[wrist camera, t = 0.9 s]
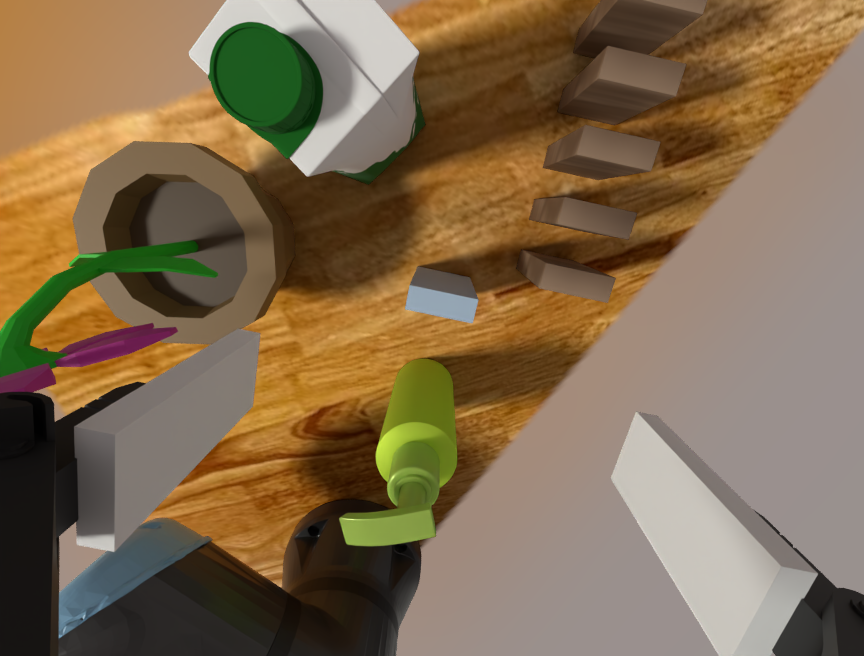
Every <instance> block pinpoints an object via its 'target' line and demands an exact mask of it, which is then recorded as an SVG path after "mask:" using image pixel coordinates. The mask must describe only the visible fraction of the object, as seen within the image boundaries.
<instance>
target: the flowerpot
mask: <svg viewBox="0 0 864 656" xmlns="http://www.w3.org/2000/svg"><path fill="white" fill-rule="evenodd" d="M73 223H74V228H75V234H76V239H77V244H78V249H79V255H78V256H77V257H76V258H75V259H74V260H73V261H71V262H70V263H69V267H73V266H75V267H73V268H70V269H68V270H66V271H63V272H61V273H59V274H56V275H54V276H53V277H51V278H50V279H49V280H48V281H47V282H46V283H45V284H44V285H43V286H42V287H41V288H40V289H39V290H38V291H37V292H36V293H35V294H34V295H33V296H32V297H31V298H30V299H29V300H28V301H26V302H25V303H24V304H23V305H22V306H21V307H20V308H19V309H18V310H17V311H16V312H15V313H14V314H13V315H12V316H11V317H10V318H9V319H8V320H7V321H6V323H5V324H4V326H3V328H2V329H1V331H0V393H4V392H34V391H37V390H40V389H43V388H46V387H48V386H51V385H54V384H56V380H55V376H54V374H53V372H52V370H51V369H53V368H55V367H82V366H86V365H90V364H93V363H97V362H101V361H105V360H108V359H112V358H116V357H119V356H123V355H127V354H130V353H132V352H135V351H137V350H139V349H142V348H144V347H146V346H149V345H151V344H153V343H156V342H158V341H161V342H163V343H187V344H213V343H215V342H216V341H218V340H220V339H221V338H223V337H225V336H226V335H228V334H230V333H231V332H233V331H235V330H236V329H242V328H244V327H245V326H247V325H249V324H251V323H253V322H254V321H256V320H258V319H259V318H261V317H263V316H264V315H265V314H266V312H267V310H268V308H269V306H270V304H271V302H272V301H273V299H274V297H275V295H276V293H277V291H278V289H279V287H280V285H281V283H282V282H283V280H284V278H285V276H286V272H287V270H288V268H289V266H290V264H291V263H292V261H293V259H294V257H295V236H294V225H293V223H292V222H291V220H290V218H289V217H288V215H287V213H286V212H285V210H284V208H283V207H282V205H281V204H280V202H279V200H278V199H277V198H275V197H273V196H272V195H270V194H269V193H267V192H265V191H264V190H262V189H261V187H260V185H259V184H258V182H257V180H256V179H255V177H254V176H252V175H251V174H249V173H247V172H246V171H244V170H243V169H241V168H239V167H238V166H236V165H234V164H233V163H231V162H230V161H228V160H226V159H225V158H223V157H221V156H220V155H218V154H217V153H215V152H213V151H212V150H210V149H209V148H207V147H204V146H200V145H196V144H192V143H172V142H140V141H133V142H132V143H130V144H129V145H127V146H126V147H124V148H123V149H121V150H120V151H118V152H117V153H115V154H114V155H112V156H111V157H109V158H108V159H106V160H105V161H103V162H102V163H100V164H99V165H97V166H96V167H94V168H93V169H91V170H90V173H89V175H88V178H87V181H86V184H85V186H84V189H83V192H82V194H81V197H80V200H79V203H78V205H77V208H76V211H75V213H74V216H73ZM88 281H90V282H91V284H92V285H93V286H94V288H95V289H96V290H97V292H98V293H99V294H100V296H101V297H102V298H103V300H104V301H105V302H106V304H107V305H108V306H109V308H110V309H111V311H112V312H113V313H114V315H115V316H116V317H117V318H119V319H121V320H123V321H125V322H127V323H128V324H130V325H132V326H134V327H130V328H125V329H120V330H115V331H110V332H105V333H102V334H100V335H97V336H94V337H91V338H88V339H85V340H82V341H79V342H76V343H73V344H70V345H68V346H67V347H65V348H64V349H62V350H61V351H59V352H51V351H48V349H47V348H44V349H39V348H36V347H33V346H30V342H31V338H32V334H33V331H34V329H35V328H36V327H37V326H38V325H39V324H40V323H41V321H42V320H43V319H44V318H45V317H46V316H47V315H48V314H49V313H50V312H51V311H52V310H53V309H54V308H55V306H56V305H57V304H58V303H59V302H60V301H61V300H62V299H63V298H64V297H65V296H66V295H67V294H68V293H69V291H70V290H72V289H74V288H76V287H78V286H80V285H82V284H84V283H86V282H88Z"/></svg>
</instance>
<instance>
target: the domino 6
mask: <svg viewBox="0 0 864 656" xmlns="http://www.w3.org/2000/svg"><path fill="white" fill-rule="evenodd" d="M516 269H517V270H518V271H520V272H521V273H522V274H523V275H524V276H526V277H527V278H528V279H529V280H530V281H531V282H533V283H534V284H535V285H536V286H537V287H538V288H541V289H545V290H550V291H555V292H559V293H564V294H569V295H573V296H578V297H583V298H588V299H592V300H597V301H602V302H606V303H608V300H609V297H610V294H611V291H612V288H613V285H614V282H615V279H616V278H614V277H612V276H609V275H607V274H605V273H602V272H600V271H597V270H595V269H593V268H590V267H588V266H585V265H583V264H580V263H578V262H576V261H573V260H568V259H564V258H559V257H554V256H550V255H545V254H540V253H536V252H531V251H526V250H522V249H521V252H520V256H519V259H518V263H517V267H516Z"/></svg>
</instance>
